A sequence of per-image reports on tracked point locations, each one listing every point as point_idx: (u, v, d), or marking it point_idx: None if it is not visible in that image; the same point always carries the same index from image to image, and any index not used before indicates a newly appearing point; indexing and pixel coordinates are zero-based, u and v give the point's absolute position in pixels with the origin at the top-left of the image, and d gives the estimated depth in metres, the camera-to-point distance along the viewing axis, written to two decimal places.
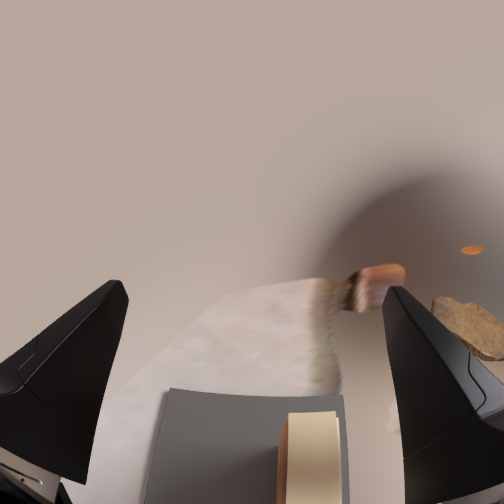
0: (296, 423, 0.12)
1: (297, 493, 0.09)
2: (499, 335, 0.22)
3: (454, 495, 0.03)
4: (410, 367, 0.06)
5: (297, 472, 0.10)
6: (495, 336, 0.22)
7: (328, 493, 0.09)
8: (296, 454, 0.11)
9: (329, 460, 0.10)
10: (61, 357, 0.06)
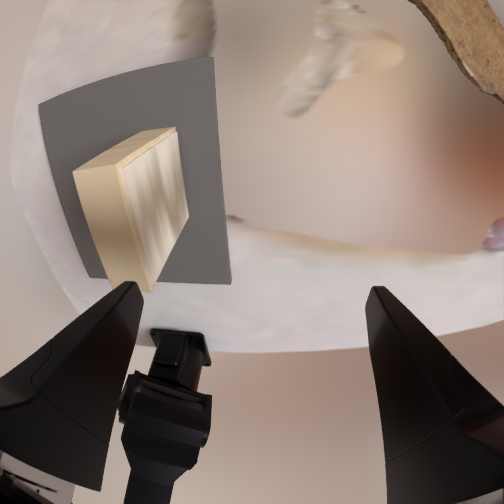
0: (81, 183, 0.10)
1: (106, 255, 0.13)
2: (502, 63, 0.10)
3: None
4: (390, 370, 0.06)
5: (98, 235, 0.12)
6: (495, 59, 0.10)
7: (130, 257, 0.13)
8: (91, 217, 0.12)
9: (121, 224, 0.12)
10: (77, 362, 0.06)
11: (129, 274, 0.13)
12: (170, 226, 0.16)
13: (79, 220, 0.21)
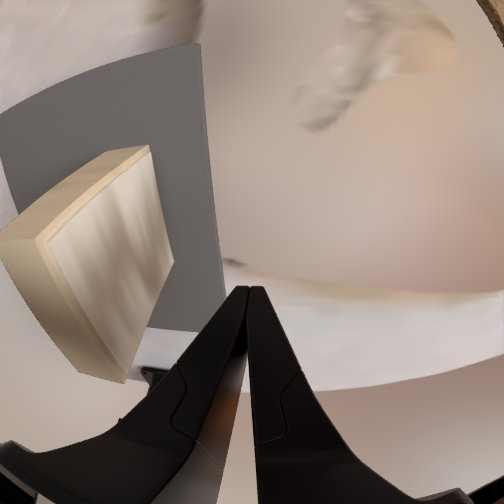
0: (5, 257, 0.06)
1: (59, 341, 0.08)
2: None
3: None
4: None
5: (44, 321, 0.07)
6: None
7: (88, 350, 0.08)
8: (29, 300, 0.07)
9: (65, 316, 0.07)
10: None
11: (93, 364, 0.09)
12: (144, 289, 0.12)
13: None
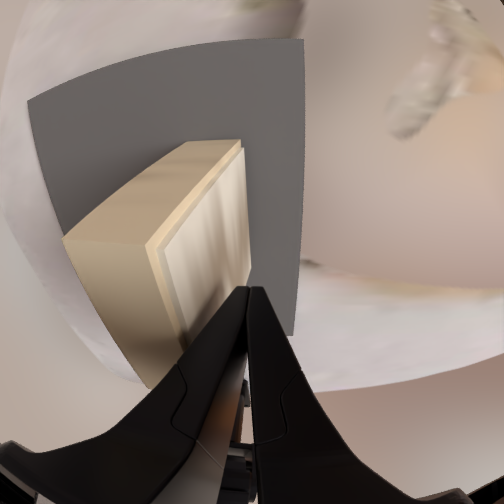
0: (81, 262, 0.06)
1: (136, 359, 0.08)
2: None
3: None
4: None
5: (122, 337, 0.07)
6: None
7: None
8: (107, 314, 0.07)
9: (162, 336, 0.07)
10: None
11: None
12: None
13: None
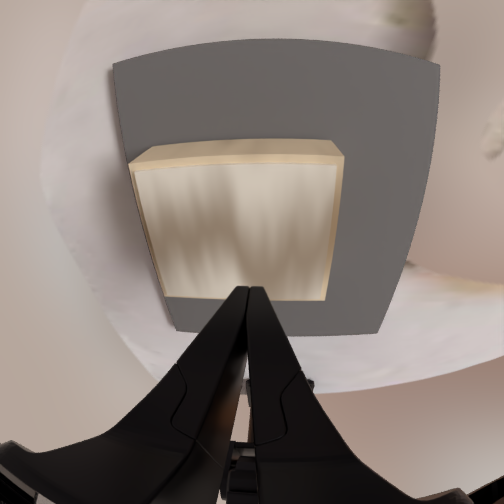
0: None
1: None
2: None
3: None
4: None
5: None
6: None
7: None
8: None
9: None
10: None
11: None
12: (239, 276, 0.12)
13: None
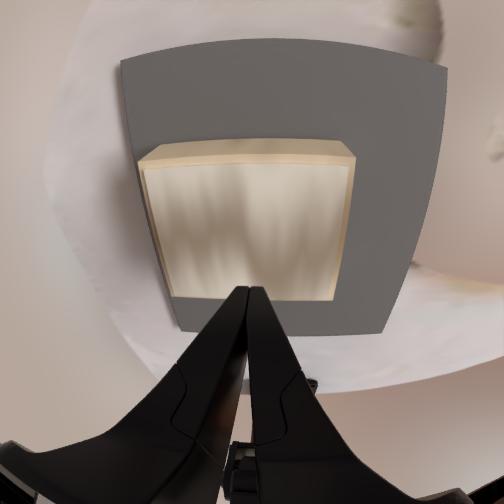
0: None
1: None
2: None
3: None
4: None
5: None
6: None
7: None
8: None
9: None
10: None
11: None
12: (248, 276, 0.12)
13: None
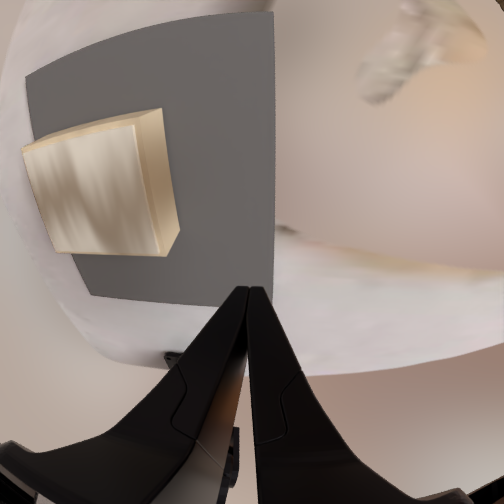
0: None
1: None
2: None
3: None
4: None
5: None
6: None
7: None
8: None
9: None
10: None
11: None
12: (92, 231, 0.13)
13: None
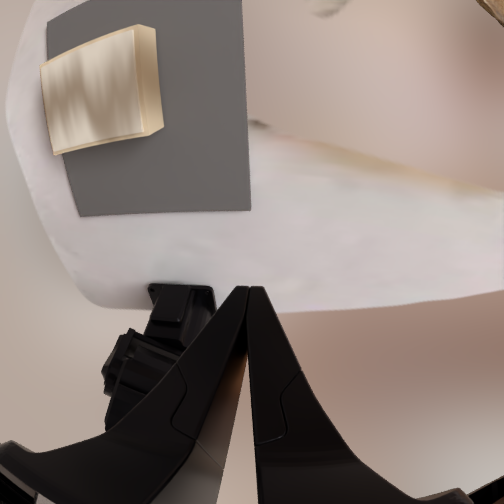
0: None
1: None
2: None
3: None
4: None
5: None
6: None
7: None
8: None
9: None
10: None
11: None
12: (88, 122, 0.13)
13: None
